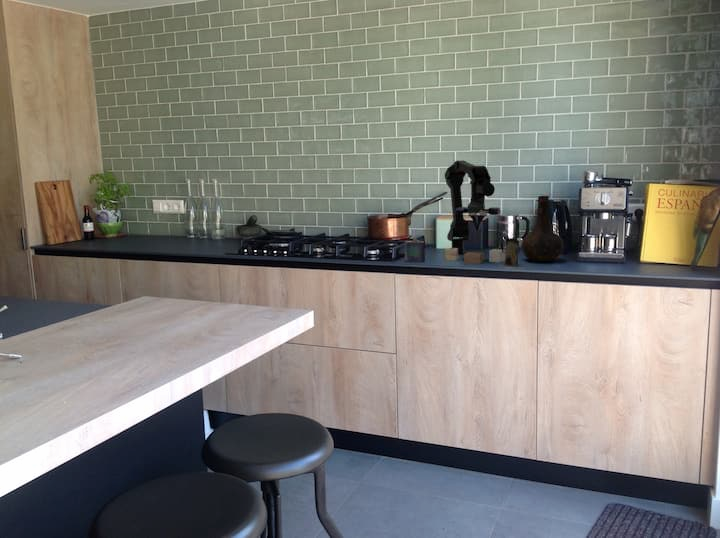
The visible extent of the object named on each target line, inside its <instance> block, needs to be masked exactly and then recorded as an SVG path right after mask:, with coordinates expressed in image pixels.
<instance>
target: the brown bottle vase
mask: <svg viewBox="0 0 720 538" xmlns="http://www.w3.org/2000/svg"><path fill="white" fill-rule="evenodd" d="M549 198H550V196H549V195H539V196H538V197H537V199H536V200H535V201H536V202H537V212H536V217H535V218H536V219H535V223H534V228H533V230H532V231H531V232H530V233H528V234H526V236H525V237H524V238H523V239H522V241H521V251H522V253H523V255H524V256H525V257H526V258H527V259H528V260H529V261H532V262H536V263H537V262H540V263H545V262H553V261H555V260H557V259H558V258H559V257H560V256H561V255H562V253H563V251H564V250H565V249H564V248H565V244H564V243H565V242H564V240H563V238H562V237H561V236H560V235H559V234H557V233H554V232H553V231H552V229H551V225H550V213H549V202H551V199H549Z"/></svg>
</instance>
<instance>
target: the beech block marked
mask: <svg viewBox="0 0 720 538" xmlns="http://www.w3.org/2000/svg"><path fill="white" fill-rule="evenodd" d="M444 250H445V252H444V253H445V254H444V258H445V259H444V261H449V262H451V261H452V262H456V261H458V259H459V254H458V248H452V247H447V248H445V249H444Z"/></svg>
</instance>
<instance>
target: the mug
mask: <svg viewBox="0 0 720 538" xmlns="http://www.w3.org/2000/svg"><path fill="white" fill-rule="evenodd" d="M504 238H505V240H504ZM504 241H505V252H504V251H503V250H504ZM518 242H519V241H518V239H517V238H512V237H511V238H510V237H508V236H507V235H504V236H501V237H500V246H501V247H500V248H501V249H502V252H503V253H505V261H504V267H517V266H518V265H519V243H518Z"/></svg>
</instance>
